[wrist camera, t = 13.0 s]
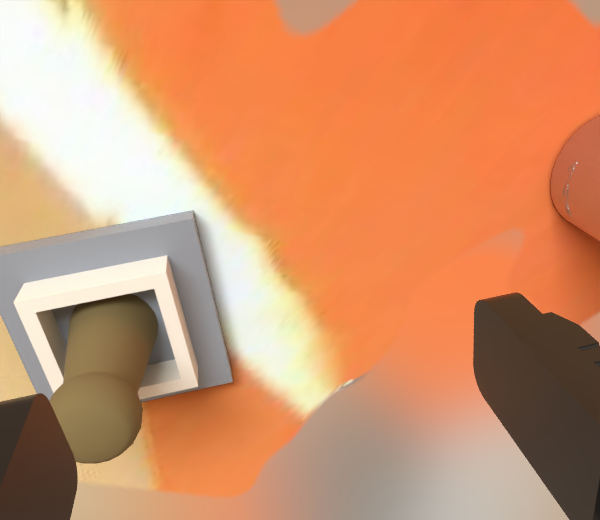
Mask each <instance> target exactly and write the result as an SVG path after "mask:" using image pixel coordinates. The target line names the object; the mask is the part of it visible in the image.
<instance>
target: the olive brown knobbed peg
mask: <svg viewBox="0 0 600 520" xmlns="http://www.w3.org/2000/svg"><path fill="white" fill-rule="evenodd" d="M157 334H158V321H157V318H156V315H155V312H154V311H153V310H152V308H151V307H150V306H149V305H148V303H146V302H145V301H144V300H142V299H141V298H139V297H138V296H136V295H133V294H125V295H120V296H115V297H110V298H105V299H100V300H95V301H90V302H85V303H81V304H78V305H77V306H76V307H75V308H74V310H73V313H72V315H71V317H70V322H69V331H68V341H67V351H66V361H65V371H64V380H63V384H62V385H61V386H60V387H59V388H58V389H57V390H56V391H55V392H54V394H53V395H52V396H51V398H50V403H51V406H52V408H53V410H54V412H55V414H56V417H57V419H58V421H59V423H60V426H61V428H62V430H63V432H64V434H65V437H66V439H67V441H68V443H69V445H70V448H71V450H72V452H73V455H74V458H75V462H80V463H101V462H105V461H109V460H111V459H113V458H115V457H117V456H119V455H120V454H122V453H123V452H124V451H125V450H126V449H127V448H128V447H130V446H131V445H132V444H133V442H134V440H135V438H136V436H137V434H138V432H139V430H140V428H141V422H142V410H143V409H142V405H141V402H140V399H139V396H138V390H139V388H140V385H141V382H142V379H143V376H144V373H145V370H146V367H147V364H148V361H149V358H150V355H151V352H152V349H153V347H154V344H155V341H156V338H157Z"/></svg>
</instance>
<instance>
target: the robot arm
mask: <svg viewBox="0 0 600 520" xmlns="http://www.w3.org/2000/svg"><path fill="white" fill-rule="evenodd" d="M551 196H552V200H553V204H554V206H555V208H556V209H557V211H558V213H559V214H560V215H561V216H562V217H563V218H564V219H565V220H567V221H568V222H570V223H572V224H573V225H575V226H576V227H578V228H579V229H581V230H583V231H584V232H586V233H587V234H589V235H590V236H592V237H594V238H595V239H597V240H598V241H599V242H600V116H597V117H595V118H594V119H592V120H591V121H589V122H587V123H586V124H584V125H583V126H582V127H581V128H580V129H579V130H578V131H576V132H575V133H574V134H573V135H572V137H571V138H570V139H569V140H568V142H567V143H566V144H565V145H564V147H563V149H562V150H561V152H560V154H559V155H558V157H557V160H556V163H555V165H554V168H553V171H552V177H551ZM474 311H475V312H474V359H473V360H474V361H473V363H474V364H473V365H474V373H475V378H476V381H477V385H478V387H479V390H480V392H481V394H482V395H483V397H484V399H485V400H486V402H487V403H488V404H489V406H490V407H491V409H492V410H493V412H494V413H495V414H496V416H497V417H498V419H499V420H500V421H501V423H502V424H503V426H504V427H505V429H506V430H507V431H508V433H509V434H510V436H511V437H512V438H513V440H514V441H515V443H516V444H517V446H518V447H519V449H520V450H521V451H522V453H523V454H524V456H525V457H526V458H527V460H528V461H529V463H530V464H531V465H532V467H533V468H534V469H535V471H536V473H537V474H538V475H539V477H540V478H541V480H542V481H543V483H544V484H545V485H546V487H547V488H548V490H549V491H550V493H551V494H552V495H553V497H554V498H555V500H556V501H557V503H558V504H559V505H560V507H561V508H562V509H563V511H564V512H565V513H566V515H567V517H568V518H569V519H570V520H600V346H599V343H598V342H597V341H596V340H595V339H594V338H593V337H592V336H591V335H590V334H588V333H587V332H586V331H585V330H584V329H583V328H582V327H581V326H579V325H578V324H576V323H574V322H571V321H569V320H567V319H565V318H563V317H561V316H559V315H556V314H554V313H552V312H550V313H545V314H542V313H541V312H540V311H539V310H538V309H537V308H536V307H534V306H533V305H532V304H531V303H530V302H529V301H528V300H527V299H526V298H525V297H524V296H523V295H521V294H520V293H511V294H506V295H502V296H497V297H493V298H488V299H483V300H479V301H477V303H476V305H475V310H474ZM76 490H77V467H76V462H75V458H74V455H73V452H72V450H71V448H70V445H69V443H68V441H67V439H66V437H65V434H64V432H63V430H62V428H61V426H60V423H59V421H58V419H57V417H56V414H55V412H54V410H53V408H52V406H51V403H50V401H49V400H48V398H47V397H46V396H45V395H44V394H42V393H39V394H35V395H30V396H25V397H21V398H16V399H11V400H7V401H2V402H0V520H70V517H71V513H72V508H73V504H74V499H75V495H76Z"/></svg>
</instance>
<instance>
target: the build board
mask: <svg viewBox="0 0 600 520" xmlns="http://www.w3.org/2000/svg"><path fill="white" fill-rule="evenodd" d="M125 294H133V295H136V296H138V297H139V298H141V299H142V300H144V301H145V302H146V303H148V305H149V306H150V307H151V308H152V310H153V311H154V312H155V315H156V318H157V321H158V334H157V338H156V341H155V344H154V347H153V349H152V352H151V355H150V358H149V361H148V364H147V367H146V370H145V373H144V376H143V379H142V382H141V385H140V388H139V390H138V396H139V399H140V402H144V401H149V400H153V399H158V398H163V397H167V396H172V395H176V394H181V393H185V392H190V391H194V390H199V389H204V388H208V387H213V386H217V385H222V384H226V383H231V382H233V379H232V370H231V366H230V362H229V358H228V353H227V349H226V345H225V341H224V337H223V333H222V329H221V325H220V320H219V316H218V312H217V308H216V304H215V300H214V296H213V291H212V287H211V283H210V279H209V275H208V271H207V267H206V262H205V258H204V254H203V250H202V246H201V242H200V238H199V233H198V229H197V225H196V221H195V217H194V213H193V211H188V212H182V213H177V214H172V215H166V216H161V217H156V218H151V219H145V220H140V221H135V222H129V223H124V224H119V225H114V226H108V227H103V228H98V229H92V230H87V231H82V232H77V233H71V234H66V235H61V236H55V237H50V238H45V239H40V240H34V241H29V242H24V243H18V244H13V245H8V246H3V247H0V315H1V317H2V319H3V321H4V323H5V326H6V328H7V330H8V332H9V334H10V337H11V339H12V341H13V343H14V345H15V347H16V350H17V352H18V354H19V356H20V358H21V360H22V363H23V365H24V367H25V369H26V371H27V373H28V376H29V378H30V380H31V382H32V384H33V386H34V389H35V391H36V393H37V394H39V393H42V394H44V395H45V396H46V397H47V398H48V400H49V401H50V398H51V396H52V395H53V394H54V392H55V391H56V390H57V389H58V388H59V387H60V386H61V385H62V384H63V380H64V371H65V361H66V351H67V341H68V331H69V322H70V317H71V315H72V313H73V310H74V308H75V307H76V306H77V305H78V304H81V303H85V302H90V301H95V300H100V299H105V298H110V297H115V296H120V295H125Z"/></svg>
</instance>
